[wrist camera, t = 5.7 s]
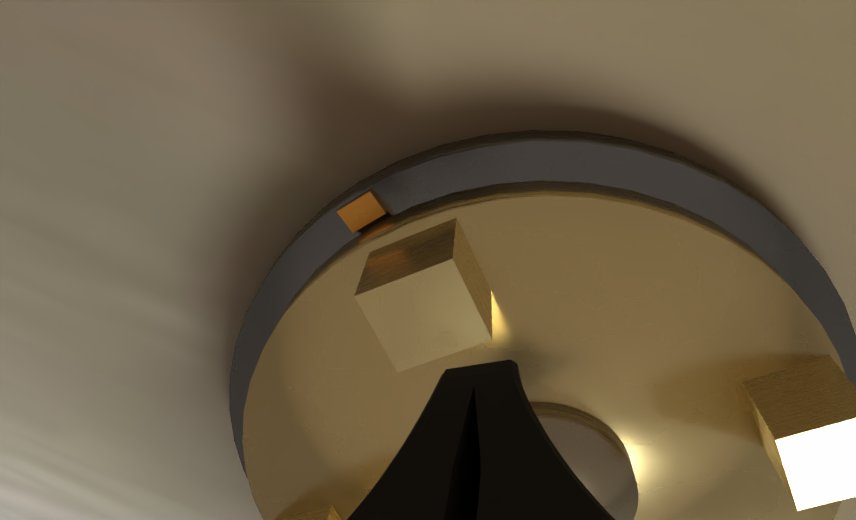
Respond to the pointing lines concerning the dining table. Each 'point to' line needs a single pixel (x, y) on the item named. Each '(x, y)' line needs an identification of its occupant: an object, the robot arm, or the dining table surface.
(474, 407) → the robot arm
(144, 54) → the dining table surface
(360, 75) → the dining table surface
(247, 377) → the grey plate
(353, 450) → the round tray
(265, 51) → the dining table surface
